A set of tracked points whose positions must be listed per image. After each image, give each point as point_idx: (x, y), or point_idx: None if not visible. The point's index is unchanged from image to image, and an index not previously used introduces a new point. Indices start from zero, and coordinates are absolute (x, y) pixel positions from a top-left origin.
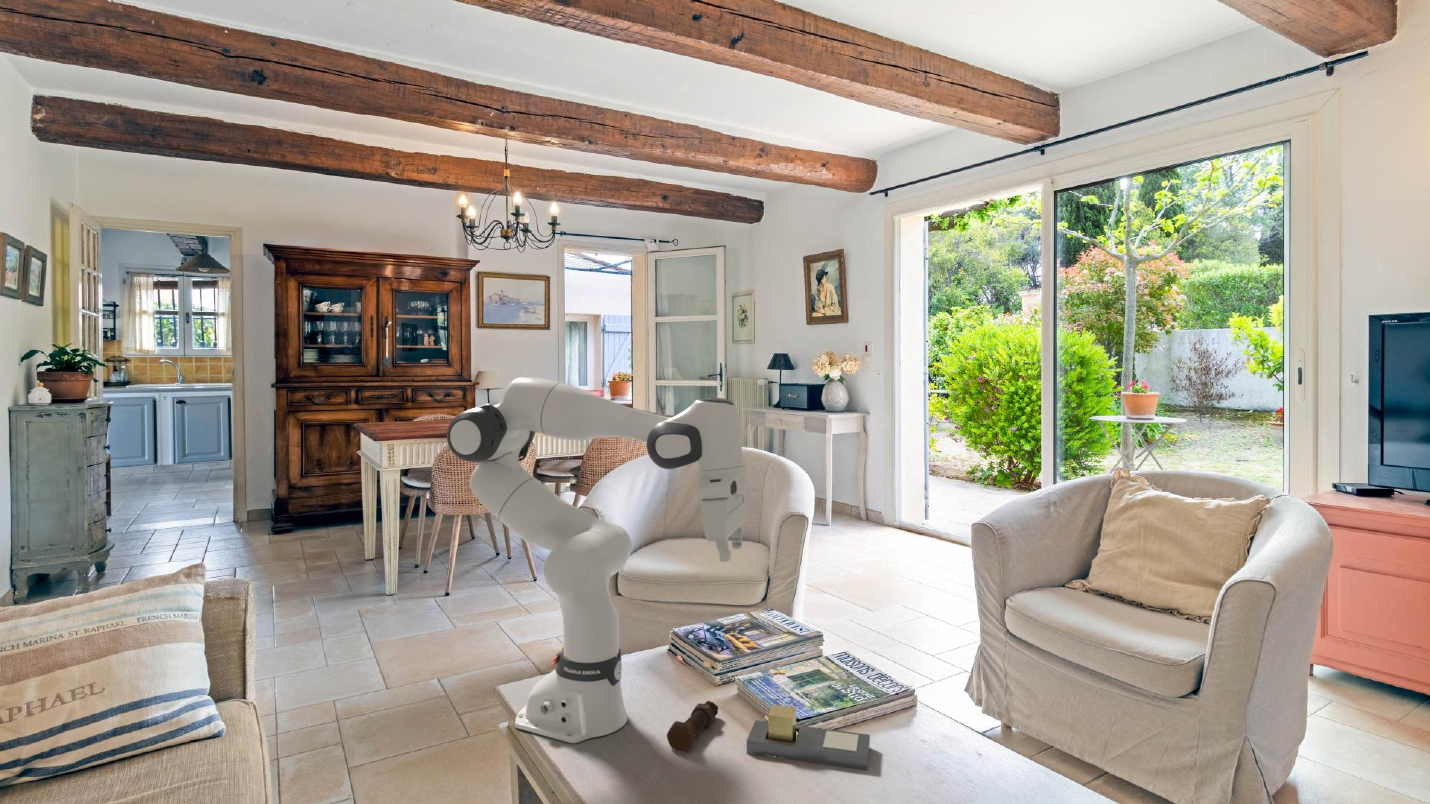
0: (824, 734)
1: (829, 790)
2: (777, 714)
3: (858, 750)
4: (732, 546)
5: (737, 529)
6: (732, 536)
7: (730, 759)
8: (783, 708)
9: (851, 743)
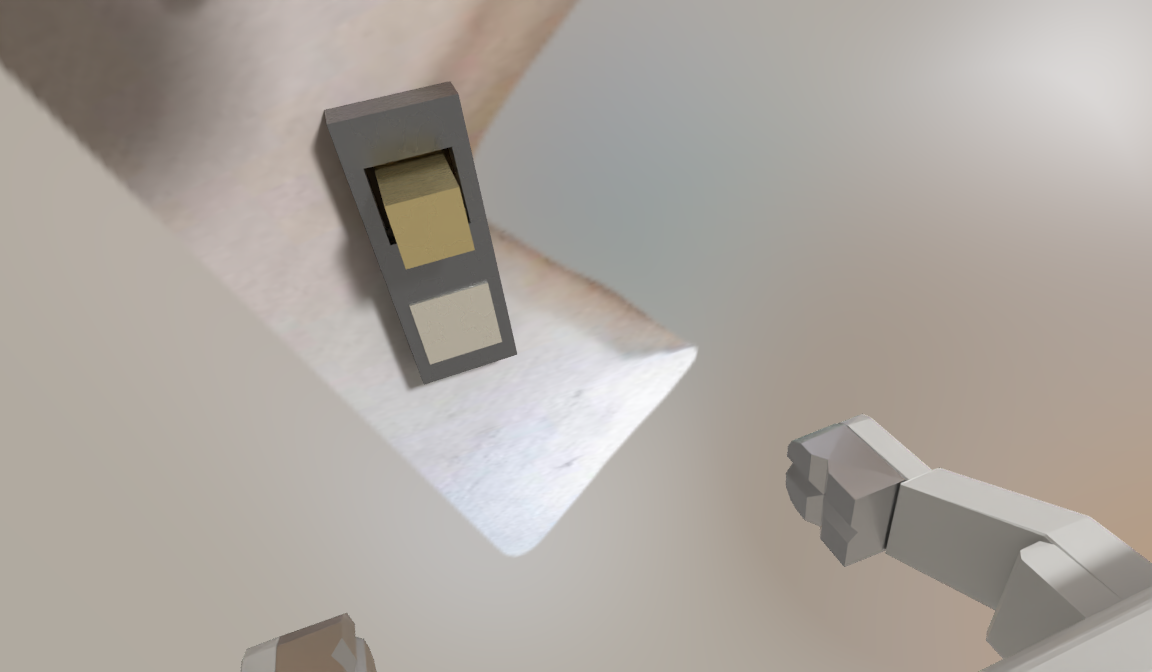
0: (471, 283)
1: (296, 342)
2: (404, 226)
3: (439, 363)
4: (806, 451)
5: (997, 607)
6: (935, 498)
7: (261, 80)
8: (448, 225)
9: (457, 345)
